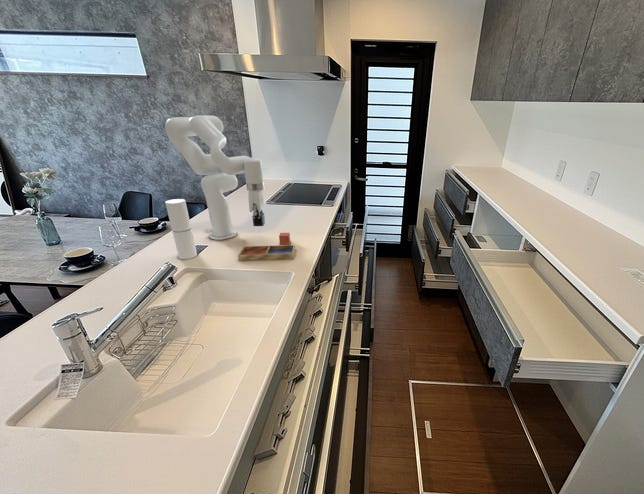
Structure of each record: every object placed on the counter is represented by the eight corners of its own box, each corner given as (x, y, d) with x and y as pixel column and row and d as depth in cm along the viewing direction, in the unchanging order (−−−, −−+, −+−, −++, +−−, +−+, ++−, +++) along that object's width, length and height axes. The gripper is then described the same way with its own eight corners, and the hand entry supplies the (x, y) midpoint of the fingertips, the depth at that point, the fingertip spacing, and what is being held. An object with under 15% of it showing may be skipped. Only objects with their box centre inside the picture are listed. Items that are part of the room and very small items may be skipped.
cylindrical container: (178, 260, 131) (164, 204, 121) (179, 253, 137) (165, 199, 127) (197, 257, 134) (184, 202, 124) (197, 251, 140) (185, 198, 130)
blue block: (253, 226, 143) (252, 216, 141) (255, 222, 147) (254, 213, 145) (263, 226, 143) (262, 216, 141) (265, 222, 147) (264, 213, 145)
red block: (279, 245, 148) (279, 236, 146) (281, 241, 152) (280, 232, 150) (289, 245, 149) (288, 235, 147) (290, 241, 153) (289, 232, 151)
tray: (238, 260, 132) (237, 255, 131) (244, 251, 141) (243, 246, 140) (293, 259, 135) (292, 253, 134) (295, 249, 144) (294, 244, 143)
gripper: (250, 182, 145) (254, 218, 152) (242, 190, 129) (246, 230, 137) (267, 182, 146) (270, 218, 153) (260, 190, 130) (264, 230, 138)
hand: (259, 223), depth 145 cm, fingers closed on blue block, 4 cm apart
